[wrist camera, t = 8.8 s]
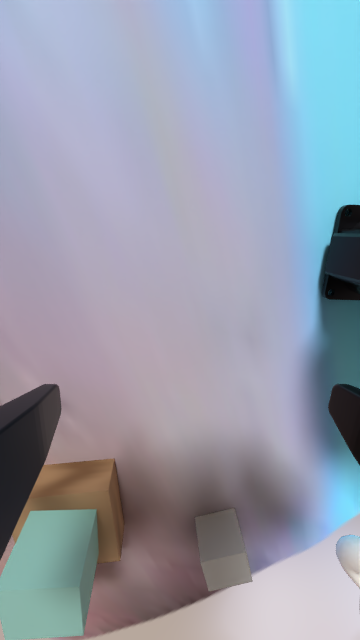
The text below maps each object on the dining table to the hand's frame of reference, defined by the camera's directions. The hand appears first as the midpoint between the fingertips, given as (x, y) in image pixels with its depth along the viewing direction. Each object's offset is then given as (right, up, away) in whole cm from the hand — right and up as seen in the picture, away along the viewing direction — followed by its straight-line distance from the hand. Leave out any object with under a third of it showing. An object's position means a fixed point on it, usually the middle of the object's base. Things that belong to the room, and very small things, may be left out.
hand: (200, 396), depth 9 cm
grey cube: (+3, -18, +19) cm, 26 cm away
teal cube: (-10, -15, +13) cm, 22 cm away
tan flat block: (-10, -14, +17) cm, 24 cm away
